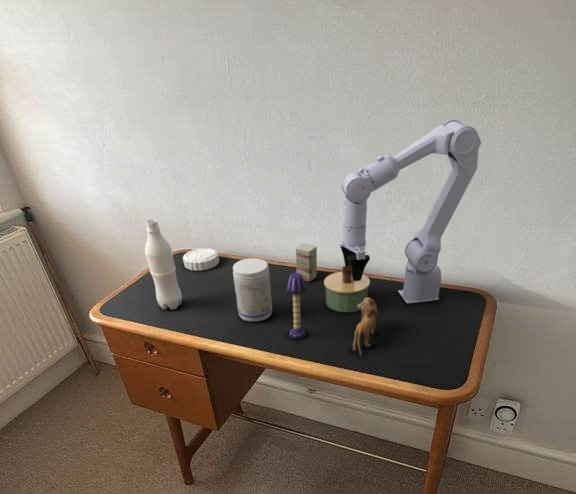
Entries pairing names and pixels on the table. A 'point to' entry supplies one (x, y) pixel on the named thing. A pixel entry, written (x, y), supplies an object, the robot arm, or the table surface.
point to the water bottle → (162, 267)
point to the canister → (345, 300)
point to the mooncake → (201, 259)
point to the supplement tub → (252, 289)
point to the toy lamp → (296, 303)
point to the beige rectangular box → (307, 261)
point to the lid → (345, 282)
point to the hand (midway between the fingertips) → (353, 274)
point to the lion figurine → (365, 322)
